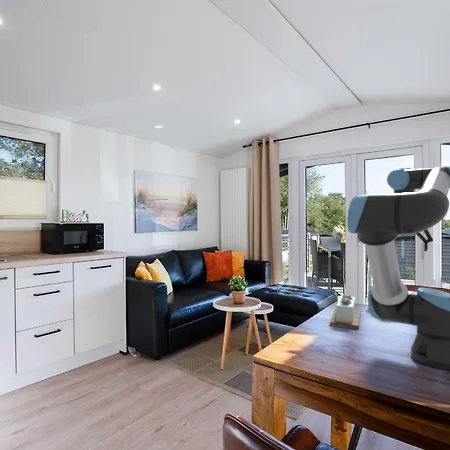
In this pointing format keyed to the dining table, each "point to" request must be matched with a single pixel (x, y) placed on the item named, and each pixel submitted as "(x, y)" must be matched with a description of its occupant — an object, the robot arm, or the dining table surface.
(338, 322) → the board
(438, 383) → the dining table surface
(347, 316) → the two-pocket foam insert
